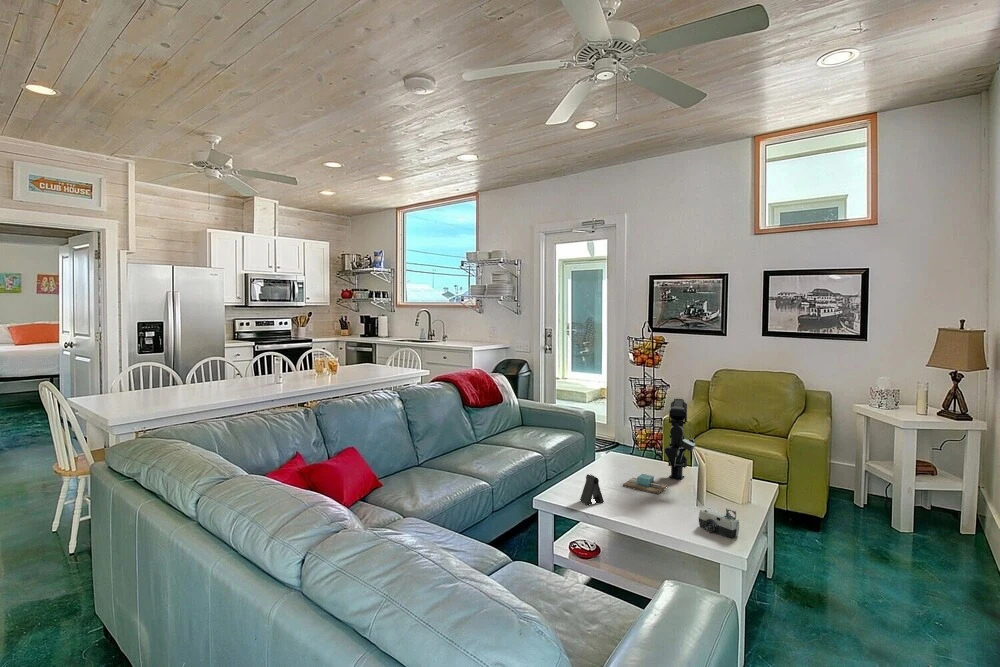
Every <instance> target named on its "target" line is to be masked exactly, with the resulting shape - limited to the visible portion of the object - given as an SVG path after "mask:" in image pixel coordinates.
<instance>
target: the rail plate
mask: <svg viewBox="0 0 1000 667" xmlns="http://www.w3.org/2000/svg"><path fill="white" fill-rule="evenodd" d="M624 486H626V487H625V488H628V487H630V488H629V489H633V488H635V489H634V490H637V489H639V490H638V491H641V490H644V491H643V492H646V491H648V492H647V493H650V492H653V493H652V494H655V493H657V494H656V495H660V494H661V493H662V492H664V491H665V490H666V489H667V488H668V487H669V484H665V483H661V482H656V481H654V483H650V487H649V488H648V487H644V486H639V485H637V477H631V478H629V479H628V480H627V481H626V482H624V483H623V484H622V487H624ZM667 486H668V487H667ZM666 487H667V488H666ZM665 488H666V489H665ZM664 489H665V490H664ZM660 492H661V493H660ZM659 493H660V494H659Z"/></svg>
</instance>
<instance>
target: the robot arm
mask: <svg viewBox="0 0 1000 667" xmlns="http://www.w3.org/2000/svg"><path fill="white" fill-rule="evenodd" d="M668 415H669V416H668V424H670V430H669V431H670V433H669V434H670V435H669V438H670V443H669V445H668V446H667V447H665V448H664V451H663V452H664V454H665V455H666V457H667V459H668V465H667V466H668V467H670V475H669V476H668V478H670V479H674V478H675V479H674V480H678V479H679V481H681V480H683V479H684V478H685V475H684V473H683V470H684V469H686V468H688V458H687V457H686V456H687V455H685V452H686V451H688V452H692V451H694V449H695V447H696V445H697V444H696V440H695V439H693V438H690V439H686V436H685V435H684V425H686V423H687V422H688V403H686V402H685V400H684V399H683V398H673V401H671V403H670V409H669V414H668Z"/></svg>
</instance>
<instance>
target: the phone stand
mask: <svg viewBox="0 0 1000 667" xmlns="http://www.w3.org/2000/svg"><path fill="white" fill-rule="evenodd" d="M599 481H600V480H599V478H598V477H597V476H594V475H593V474H591V473H590V474H589V473H588V474H586V476H585V483H584V486H583V489H582V492H581V495H580V498H579V501H580V500H581V501H582V502H581V501H580V502H581V503H583V504H584V503H585V504H584V505H586V506H587V505H588V506H590V505H589V504H592V502H591V499H592V498H593V499H595V501H596V503H600V504H604V503H605V501H604V498H603V493H602V491H601V488H600V485H599V483H600V482H599ZM603 502H604V503H603ZM596 503H595V504H594V505H597V504H596Z"/></svg>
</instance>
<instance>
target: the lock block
mask: <svg viewBox="0 0 1000 667" xmlns="http://www.w3.org/2000/svg"><path fill="white" fill-rule="evenodd" d="M636 478H637V485H639V486H644V487H648V488H649V487H650V483H654V482H655V481H654V480H655V476H654V475H650V474H647V473H646V474H645V473H641V474H639V475H638V476H637V477H636Z"/></svg>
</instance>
